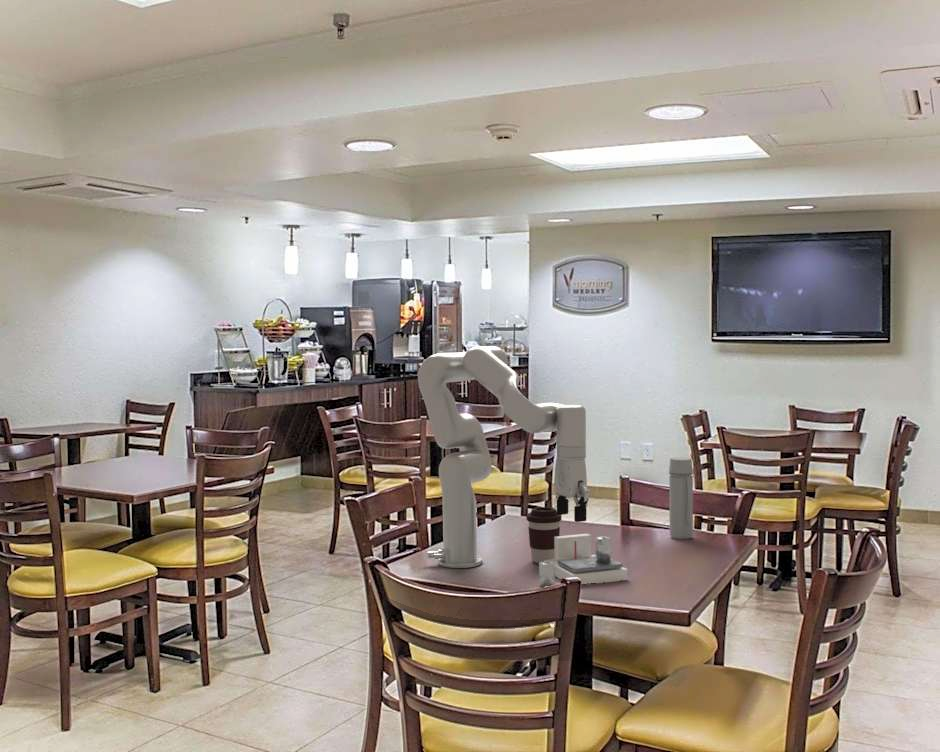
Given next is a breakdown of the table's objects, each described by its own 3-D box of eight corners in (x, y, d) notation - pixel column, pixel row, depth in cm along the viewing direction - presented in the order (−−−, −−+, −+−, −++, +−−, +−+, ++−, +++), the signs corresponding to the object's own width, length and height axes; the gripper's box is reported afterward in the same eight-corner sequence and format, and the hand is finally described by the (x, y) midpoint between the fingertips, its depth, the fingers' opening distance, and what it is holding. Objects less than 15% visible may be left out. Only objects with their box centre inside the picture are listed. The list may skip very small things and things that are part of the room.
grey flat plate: (574, 572, 235) (574, 568, 235) (557, 563, 244) (557, 560, 244) (622, 567, 239) (622, 563, 239) (604, 558, 249) (604, 555, 249)
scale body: (572, 586, 233) (572, 551, 233) (544, 570, 250) (544, 537, 250) (627, 579, 239) (627, 545, 238) (596, 564, 255) (596, 532, 255)
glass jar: (600, 562, 240) (600, 540, 240) (592, 559, 244) (593, 536, 244) (613, 561, 242) (613, 539, 241) (605, 557, 245) (606, 535, 245)
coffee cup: (533, 566, 254) (533, 513, 253) (522, 558, 263) (521, 507, 263) (567, 563, 256) (566, 511, 256) (554, 555, 266) (554, 504, 265)
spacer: (543, 589, 231) (542, 565, 231) (536, 585, 235) (536, 562, 235) (557, 587, 233) (557, 564, 232) (550, 583, 236) (550, 560, 236)
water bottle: (664, 536, 290) (663, 457, 289) (686, 534, 292) (685, 456, 291) (679, 542, 281) (679, 461, 280) (701, 540, 283) (701, 460, 282)
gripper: (543, 449, 243) (543, 512, 244) (574, 457, 227) (574, 525, 228) (568, 447, 246) (568, 510, 247) (600, 455, 230) (600, 522, 231)
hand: (571, 517), depth 237 cm, fingers open, 9 cm apart
